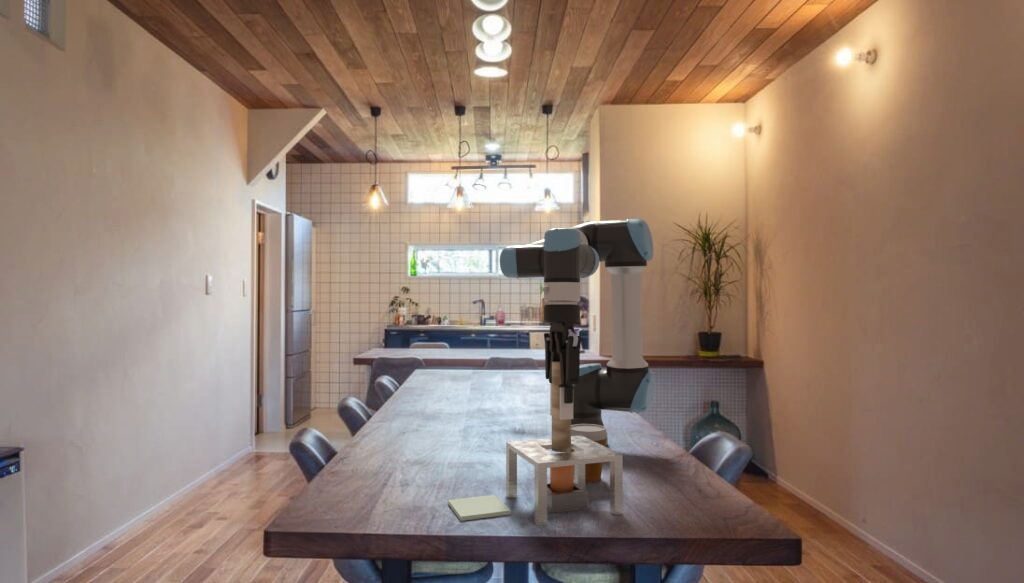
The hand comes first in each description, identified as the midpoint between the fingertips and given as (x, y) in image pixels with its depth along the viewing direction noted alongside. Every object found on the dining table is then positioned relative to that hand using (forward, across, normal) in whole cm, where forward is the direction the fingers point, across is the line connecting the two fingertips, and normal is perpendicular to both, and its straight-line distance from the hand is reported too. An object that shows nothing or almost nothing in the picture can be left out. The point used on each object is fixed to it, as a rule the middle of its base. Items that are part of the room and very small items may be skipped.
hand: (561, 416), depth 123 cm
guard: (+18, 0, 0) cm, 18 cm away
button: (+15, 0, 0) cm, 15 cm away
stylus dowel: (+7, 0, 0) cm, 7 cm away
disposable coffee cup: (+18, -14, +13) cm, 27 cm away
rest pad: (+18, -3, -17) cm, 25 cm away
